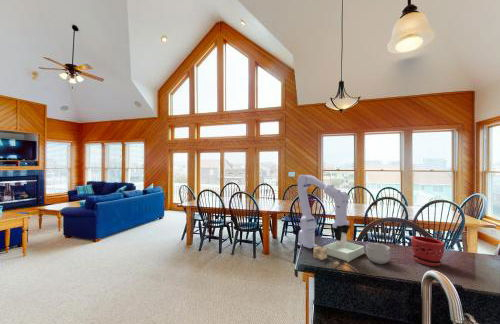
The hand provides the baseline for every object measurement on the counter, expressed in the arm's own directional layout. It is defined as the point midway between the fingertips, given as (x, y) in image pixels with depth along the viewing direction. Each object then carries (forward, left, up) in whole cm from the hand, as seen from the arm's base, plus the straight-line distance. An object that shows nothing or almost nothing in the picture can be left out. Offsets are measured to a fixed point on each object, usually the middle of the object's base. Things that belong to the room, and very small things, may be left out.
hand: (340, 239), depth 118 cm
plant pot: (+32, +29, -10) cm, 44 cm away
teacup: (+15, +11, -10) cm, 21 cm away
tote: (-1, +6, -9) cm, 11 cm away
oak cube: (-6, -10, -10) cm, 15 cm away
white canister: (0, 0, -4) cm, 4 cm away
